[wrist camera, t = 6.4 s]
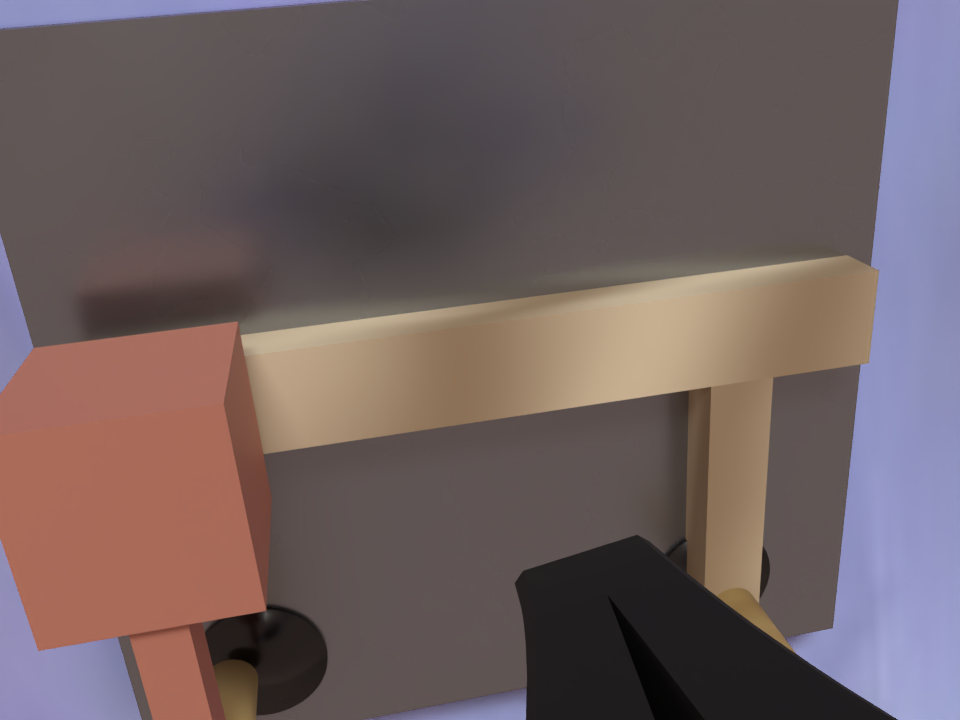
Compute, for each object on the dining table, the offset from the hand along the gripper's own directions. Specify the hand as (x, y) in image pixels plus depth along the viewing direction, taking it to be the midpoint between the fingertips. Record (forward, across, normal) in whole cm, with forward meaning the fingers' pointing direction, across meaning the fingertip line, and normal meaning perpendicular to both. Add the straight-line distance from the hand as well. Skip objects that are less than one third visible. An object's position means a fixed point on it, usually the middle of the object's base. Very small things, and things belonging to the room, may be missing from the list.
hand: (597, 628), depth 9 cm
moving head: (+7, +6, +2) cm, 10 cm away
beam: (+8, 0, +3) cm, 8 cm away
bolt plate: (+9, 0, +1) cm, 9 cm away
